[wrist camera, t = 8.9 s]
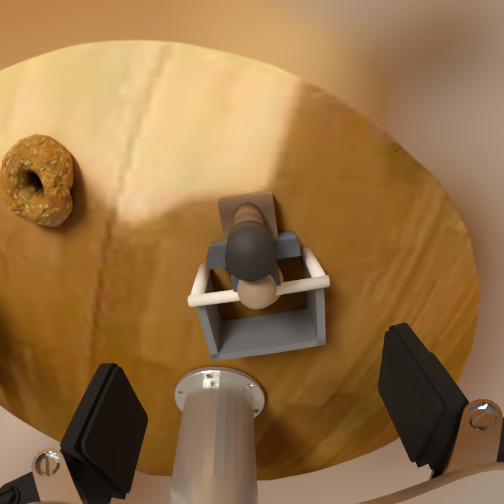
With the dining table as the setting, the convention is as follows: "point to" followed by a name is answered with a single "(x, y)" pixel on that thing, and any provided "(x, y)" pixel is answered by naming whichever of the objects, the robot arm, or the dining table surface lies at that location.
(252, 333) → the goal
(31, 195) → the bagel
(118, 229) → the dining table surface
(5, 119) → the dining table surface
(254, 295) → the striker
